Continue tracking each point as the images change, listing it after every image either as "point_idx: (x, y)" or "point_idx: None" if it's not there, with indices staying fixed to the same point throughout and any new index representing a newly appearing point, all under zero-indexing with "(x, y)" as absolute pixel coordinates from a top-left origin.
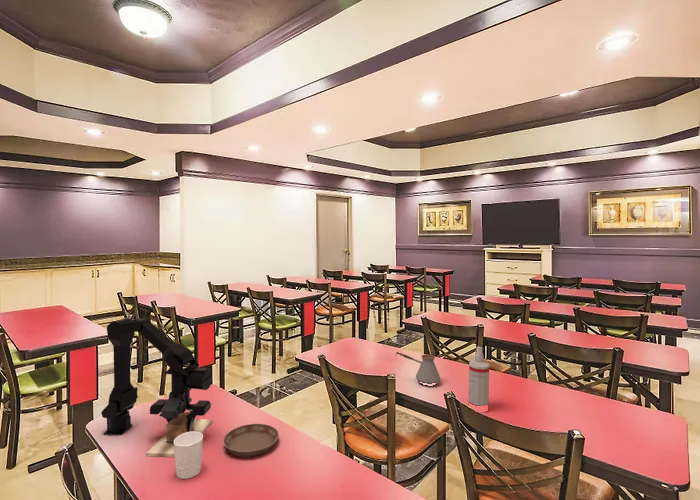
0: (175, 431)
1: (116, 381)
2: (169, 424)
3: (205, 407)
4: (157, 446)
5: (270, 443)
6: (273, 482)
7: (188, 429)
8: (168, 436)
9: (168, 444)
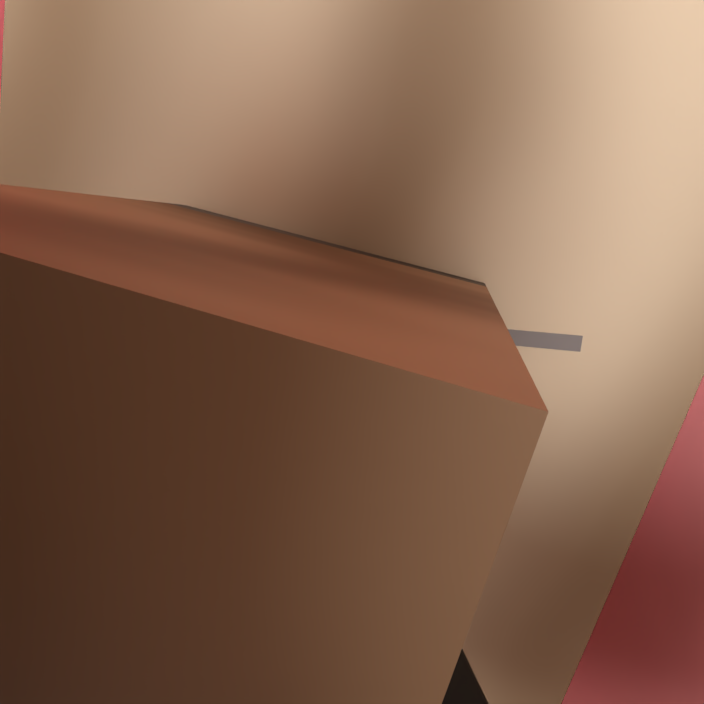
0: (161, 237)
1: None
2: (332, 441)
3: None
4: (663, 167)
5: None
6: None
7: None
8: (433, 282)
9: (429, 214)
